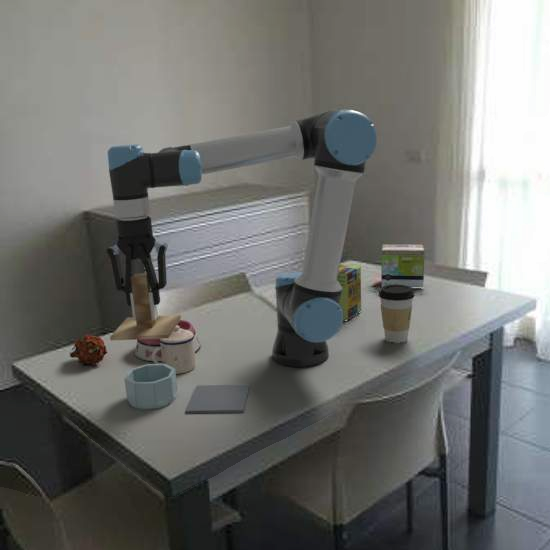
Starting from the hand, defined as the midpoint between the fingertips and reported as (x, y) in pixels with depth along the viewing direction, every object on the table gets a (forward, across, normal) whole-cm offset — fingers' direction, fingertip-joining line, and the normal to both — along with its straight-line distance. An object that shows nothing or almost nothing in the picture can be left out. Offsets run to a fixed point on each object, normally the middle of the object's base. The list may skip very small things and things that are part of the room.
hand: (145, 318), depth 141 cm
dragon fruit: (+20, +24, -23) cm, 39 cm away
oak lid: (+3, 0, 0) cm, 3 cm away
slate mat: (+20, -15, +1) cm, 26 cm away
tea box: (+22, -70, -89) cm, 115 cm away
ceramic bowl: (+20, +1, 0) cm, 20 cm away
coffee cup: (+21, -61, -35) cm, 73 cm away
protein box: (+21, -44, -59) cm, 76 cm away
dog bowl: (+21, +4, -31) cm, 37 cm away
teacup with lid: (+20, -1, -17) cm, 26 cm away
